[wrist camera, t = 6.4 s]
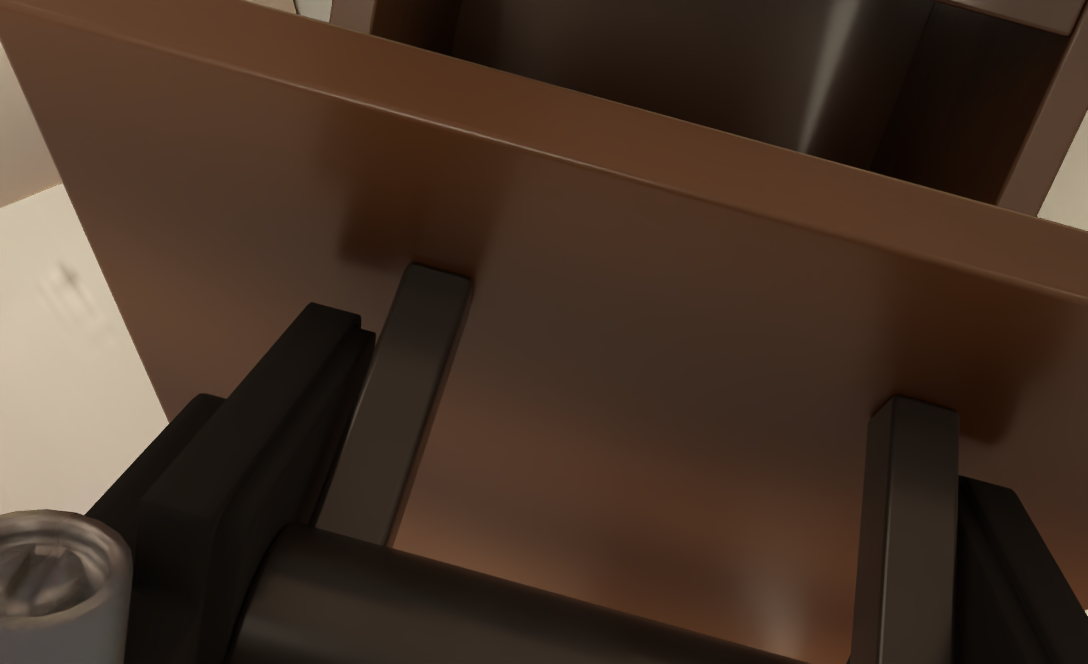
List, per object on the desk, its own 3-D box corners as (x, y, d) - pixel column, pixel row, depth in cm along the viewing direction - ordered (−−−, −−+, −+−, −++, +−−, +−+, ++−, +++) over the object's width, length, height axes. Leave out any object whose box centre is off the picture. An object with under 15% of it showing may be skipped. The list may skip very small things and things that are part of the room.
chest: (470, -177, 25) (362, -210, 16) (975, -39, 25) (1140, 2, 16) (367, 361, 32) (249, 546, 23) (769, 472, 32) (806, 700, 23)
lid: (23, -64, 9) (-431, 514, 6) (1500, 341, 9) (1732, 1112, 6) (248, 541, 23) (144, 796, 20) (811, 697, 23) (784, 973, 20)
